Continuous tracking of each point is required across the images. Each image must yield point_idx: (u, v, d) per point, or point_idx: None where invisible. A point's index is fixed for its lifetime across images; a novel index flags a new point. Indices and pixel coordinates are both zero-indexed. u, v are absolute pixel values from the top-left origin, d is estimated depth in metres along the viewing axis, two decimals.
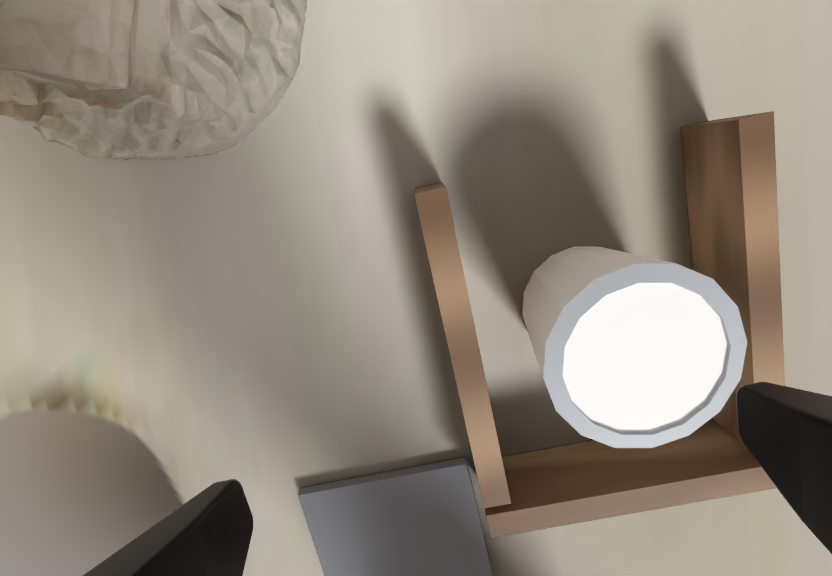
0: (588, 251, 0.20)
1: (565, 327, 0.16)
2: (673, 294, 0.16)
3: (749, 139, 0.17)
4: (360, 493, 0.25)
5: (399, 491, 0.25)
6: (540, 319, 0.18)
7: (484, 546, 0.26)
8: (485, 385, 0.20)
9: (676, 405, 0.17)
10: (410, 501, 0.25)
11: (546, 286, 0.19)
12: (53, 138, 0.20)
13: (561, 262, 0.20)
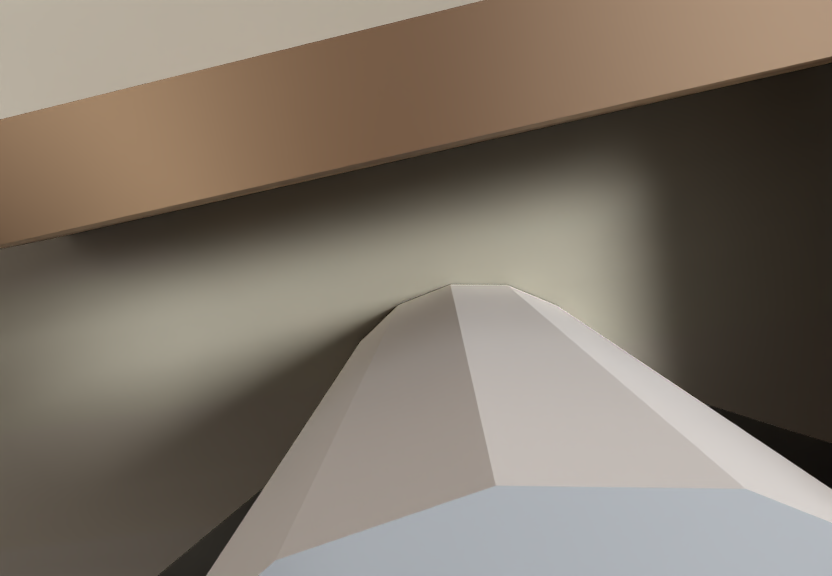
0: None
1: None
2: None
3: None
4: None
5: None
6: None
7: None
8: None
9: None
10: None
11: None
12: None
13: None
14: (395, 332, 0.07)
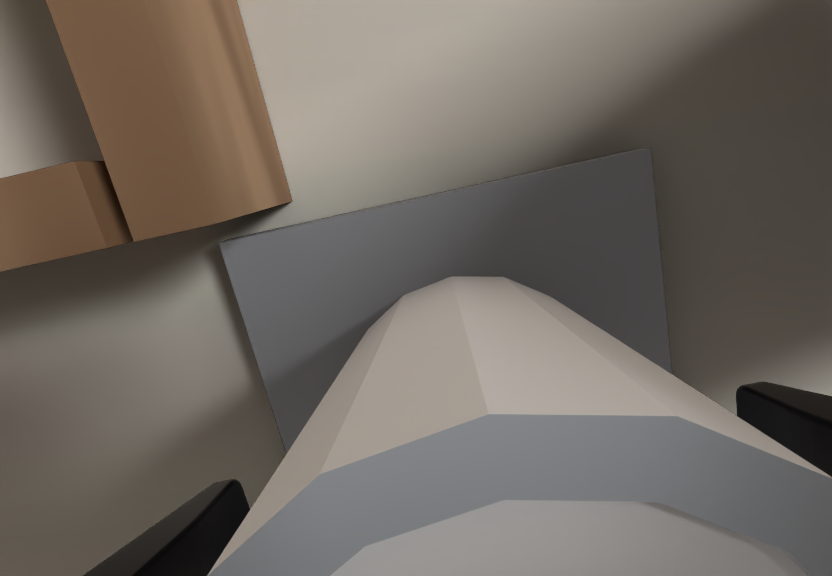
0: None
1: None
2: None
3: None
4: None
5: (307, 394, 0.11)
6: None
7: (459, 193, 0.10)
8: None
9: None
10: (331, 371, 0.11)
11: None
12: None
13: None
14: (402, 317, 0.08)
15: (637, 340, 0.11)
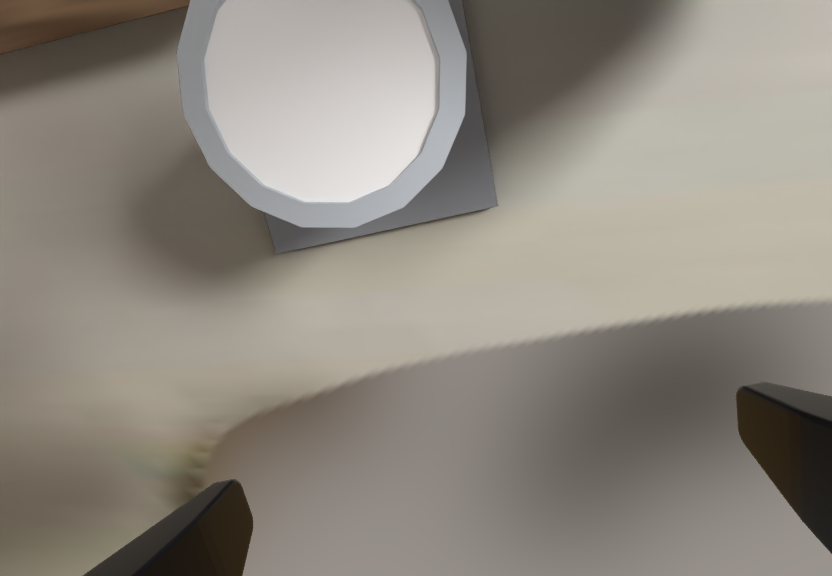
0: None
1: (277, 203, 0.12)
2: (220, 51, 0.11)
3: None
4: None
5: None
6: None
7: None
8: None
9: (393, 21, 0.11)
10: None
11: None
12: None
13: None
14: None
15: None
